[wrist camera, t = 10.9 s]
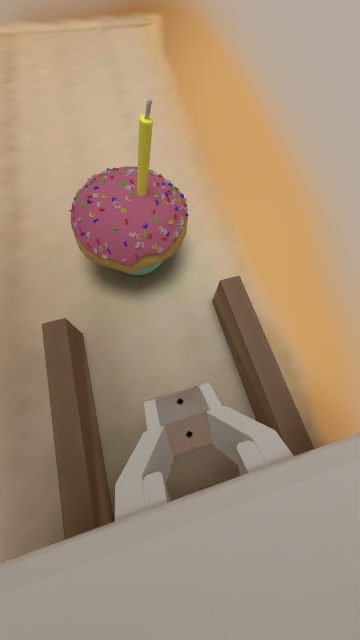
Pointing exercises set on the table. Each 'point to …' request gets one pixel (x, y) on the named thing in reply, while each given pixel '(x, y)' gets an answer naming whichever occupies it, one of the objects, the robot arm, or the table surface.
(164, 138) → the table surface
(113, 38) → the table surface
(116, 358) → the table surface
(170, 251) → the cupcake
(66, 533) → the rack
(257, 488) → the robot arm
